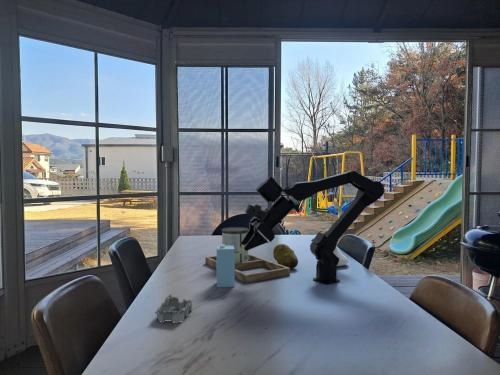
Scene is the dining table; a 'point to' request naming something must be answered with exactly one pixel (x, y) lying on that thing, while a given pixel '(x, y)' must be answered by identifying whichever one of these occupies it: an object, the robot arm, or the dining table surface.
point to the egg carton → (173, 309)
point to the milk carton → (225, 266)
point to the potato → (285, 256)
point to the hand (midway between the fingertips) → (243, 246)
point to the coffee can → (236, 242)
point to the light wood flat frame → (254, 263)
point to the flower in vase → (342, 258)
